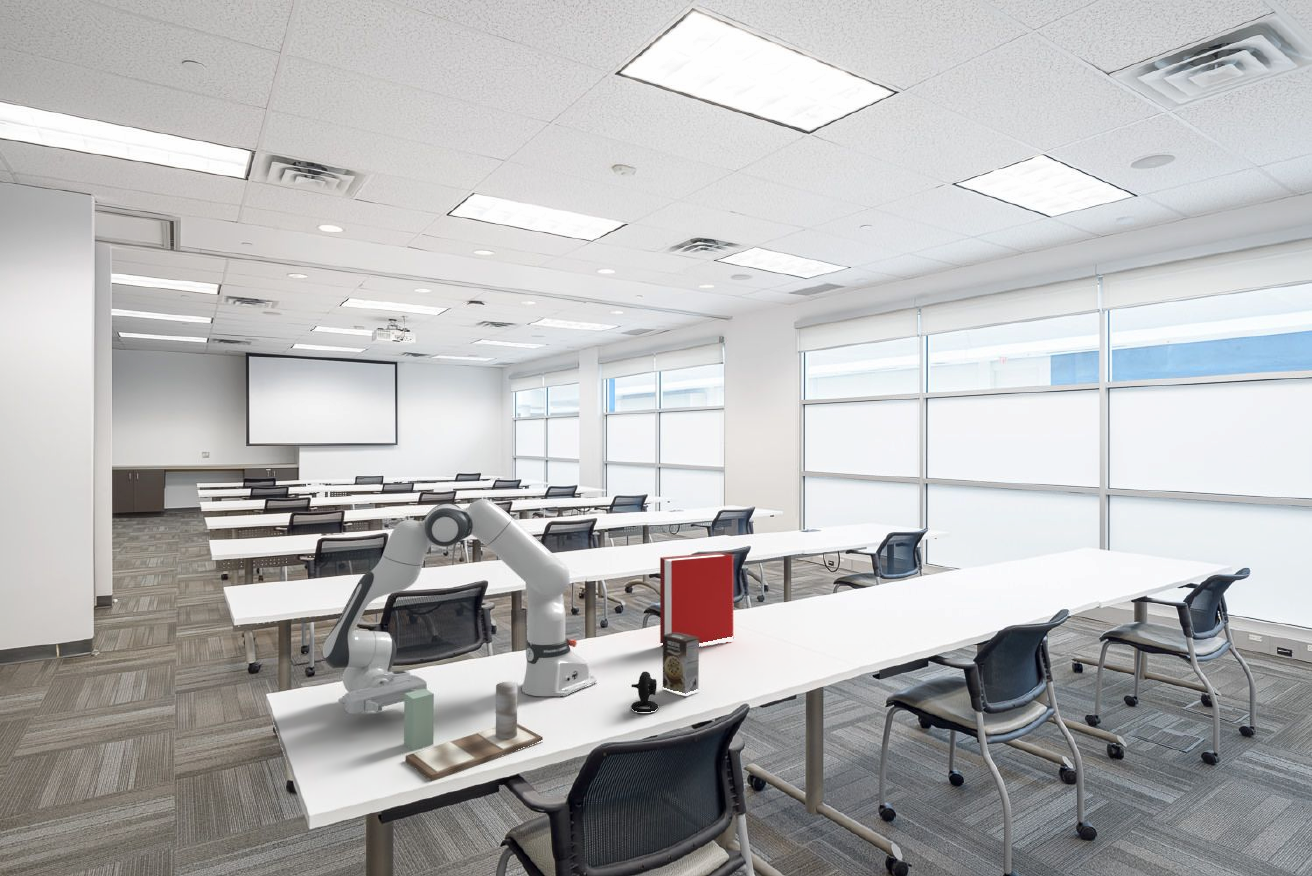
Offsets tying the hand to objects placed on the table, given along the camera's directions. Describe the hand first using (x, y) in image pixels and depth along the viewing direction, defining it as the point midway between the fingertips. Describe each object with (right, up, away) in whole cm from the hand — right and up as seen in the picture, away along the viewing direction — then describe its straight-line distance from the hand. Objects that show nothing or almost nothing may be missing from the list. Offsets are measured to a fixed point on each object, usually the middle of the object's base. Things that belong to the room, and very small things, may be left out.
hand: (398, 703), depth 169 cm
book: (+80, -9, +76) cm, 111 cm away
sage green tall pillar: (+8, -6, -9) cm, 14 cm away
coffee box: (+72, -7, +27) cm, 77 cm away
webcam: (+62, -7, +13) cm, 64 cm away
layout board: (+23, -6, -13) cm, 27 cm away
